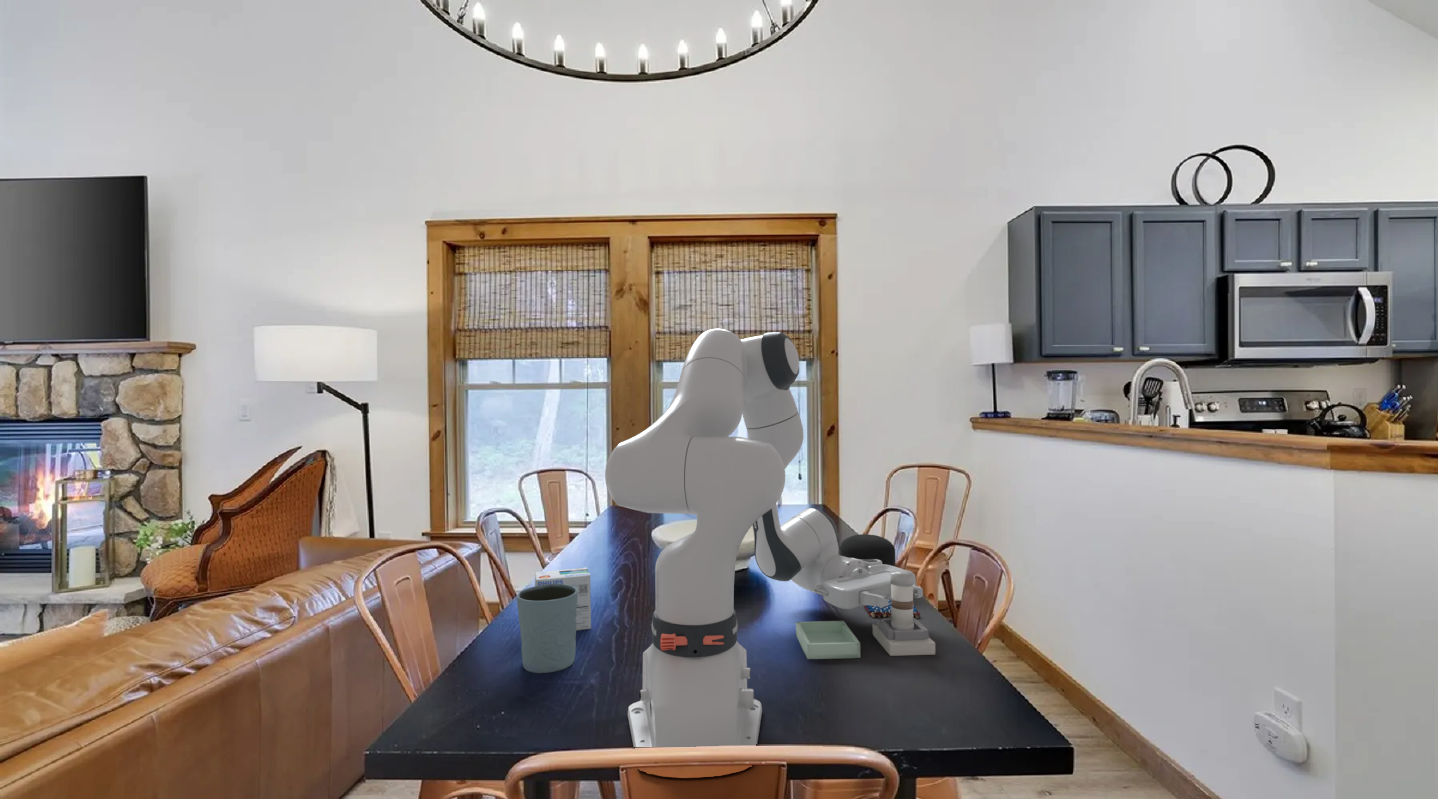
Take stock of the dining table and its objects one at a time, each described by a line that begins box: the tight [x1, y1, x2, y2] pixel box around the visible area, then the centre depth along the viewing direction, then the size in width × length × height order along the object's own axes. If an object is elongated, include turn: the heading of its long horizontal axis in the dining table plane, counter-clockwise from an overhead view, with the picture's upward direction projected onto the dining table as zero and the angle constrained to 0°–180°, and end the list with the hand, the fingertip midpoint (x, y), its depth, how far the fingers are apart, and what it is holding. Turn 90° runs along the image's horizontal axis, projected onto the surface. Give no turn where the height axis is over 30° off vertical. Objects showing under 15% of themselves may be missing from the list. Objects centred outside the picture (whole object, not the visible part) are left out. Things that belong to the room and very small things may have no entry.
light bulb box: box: [534, 567, 592, 631], centre depth 120 cm, size 11×7×11 cm, turn 108°
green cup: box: [516, 584, 578, 674], centre depth 103 cm, size 10×10×12 cm
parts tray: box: [795, 620, 861, 660], centre depth 109 cm, size 11×9×2 cm
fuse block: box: [872, 617, 936, 657], centre depth 110 cm, size 10×8×4 cm
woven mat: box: [863, 599, 921, 619], centre depth 129 cm, size 10×11×2 cm
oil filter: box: [839, 533, 896, 567], centre depth 145 cm, size 13×12×13 cm
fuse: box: [890, 568, 914, 630], centre depth 110 cm, size 4×4×11 cm
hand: (903, 597), depth 109 cm, fingers open, 8 cm apart
